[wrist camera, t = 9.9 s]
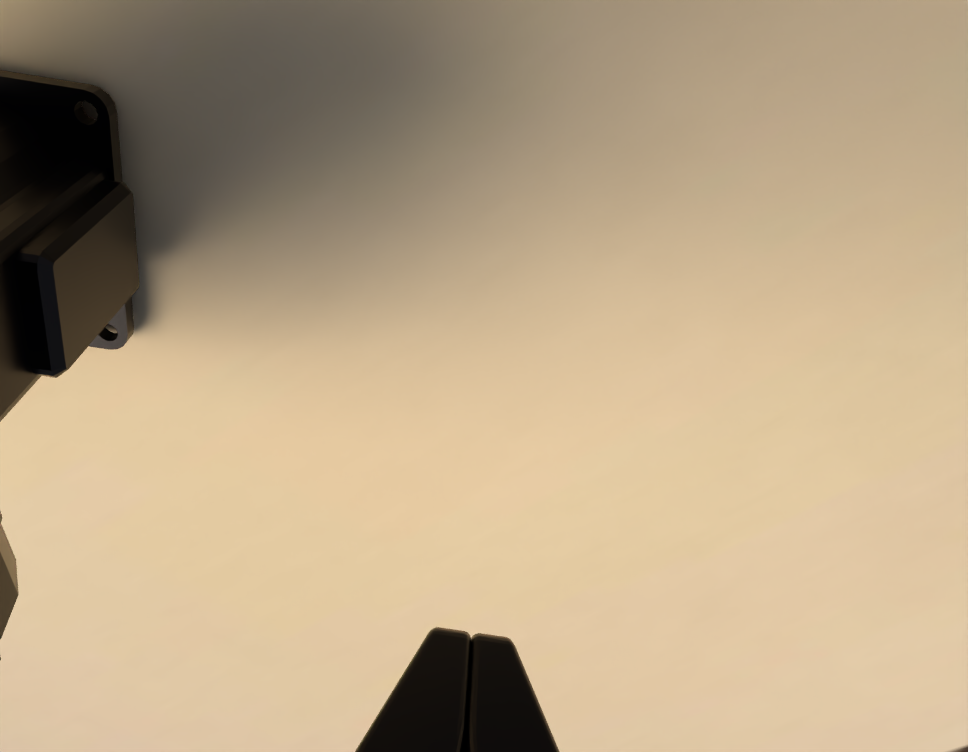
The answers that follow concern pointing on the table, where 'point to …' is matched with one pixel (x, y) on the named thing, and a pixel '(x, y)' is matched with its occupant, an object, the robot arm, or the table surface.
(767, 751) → the table surface
